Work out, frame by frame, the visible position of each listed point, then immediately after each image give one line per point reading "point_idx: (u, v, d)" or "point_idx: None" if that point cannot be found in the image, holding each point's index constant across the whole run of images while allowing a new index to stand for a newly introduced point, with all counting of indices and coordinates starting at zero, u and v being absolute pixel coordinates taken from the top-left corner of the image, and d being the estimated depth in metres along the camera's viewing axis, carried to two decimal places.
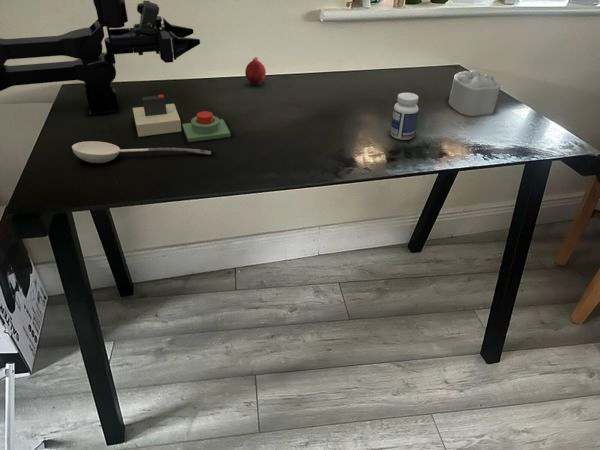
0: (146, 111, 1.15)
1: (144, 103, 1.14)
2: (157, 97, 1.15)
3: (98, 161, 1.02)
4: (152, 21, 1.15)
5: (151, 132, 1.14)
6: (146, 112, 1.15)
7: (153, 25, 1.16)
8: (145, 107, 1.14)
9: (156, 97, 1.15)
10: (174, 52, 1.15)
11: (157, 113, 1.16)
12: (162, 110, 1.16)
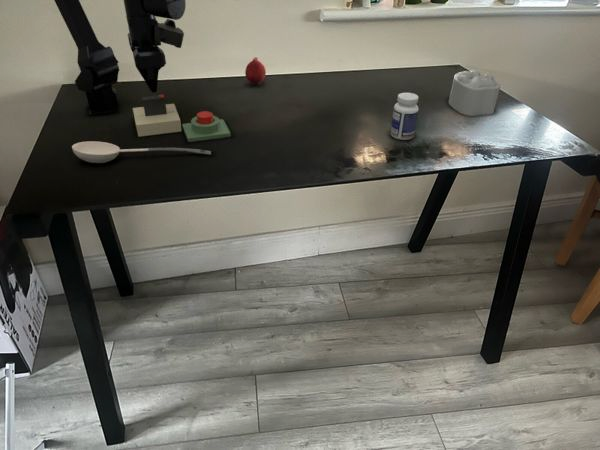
0: (146, 111, 1.15)
1: (144, 103, 1.14)
2: (157, 97, 1.15)
3: (98, 161, 1.02)
4: (167, 40, 1.06)
5: (151, 132, 1.14)
6: (146, 112, 1.15)
7: (163, 41, 1.06)
8: (145, 107, 1.14)
9: (156, 97, 1.15)
10: (145, 67, 1.03)
11: (157, 113, 1.16)
12: (162, 110, 1.16)
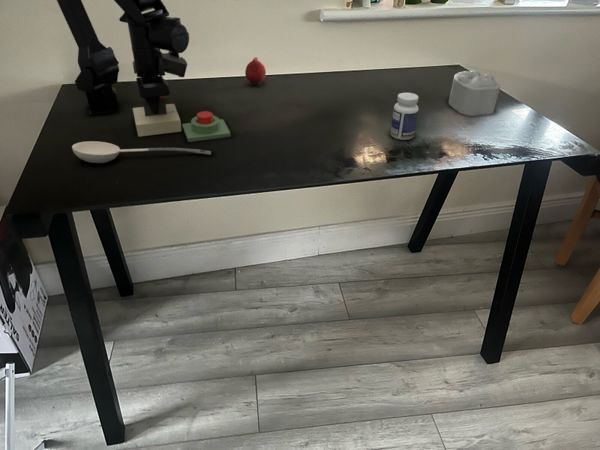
0: (146, 111, 1.15)
1: (144, 103, 1.14)
2: None
3: (98, 161, 1.02)
4: (171, 70, 1.10)
5: (151, 132, 1.14)
6: (146, 112, 1.15)
7: (167, 71, 1.10)
8: (145, 107, 1.14)
9: None
10: None
11: None
12: (162, 110, 1.16)
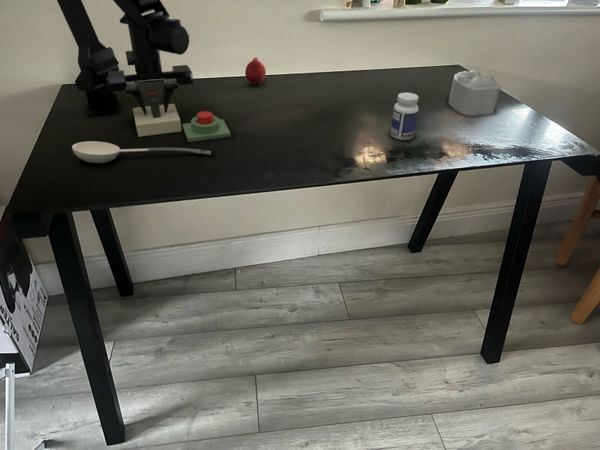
0: None
1: (158, 104, 1.14)
2: (153, 95, 1.15)
3: (98, 161, 1.02)
4: None
5: (151, 132, 1.14)
6: None
7: None
8: (159, 108, 1.14)
9: (153, 96, 1.15)
10: None
11: None
12: None
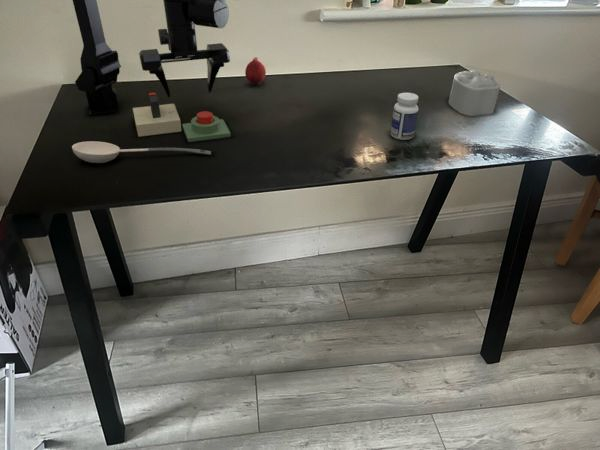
0: None
1: (158, 104, 1.14)
2: (153, 95, 1.15)
3: (98, 161, 1.02)
4: None
5: (151, 132, 1.14)
6: None
7: None
8: (159, 108, 1.14)
9: (153, 96, 1.15)
10: None
11: None
12: None
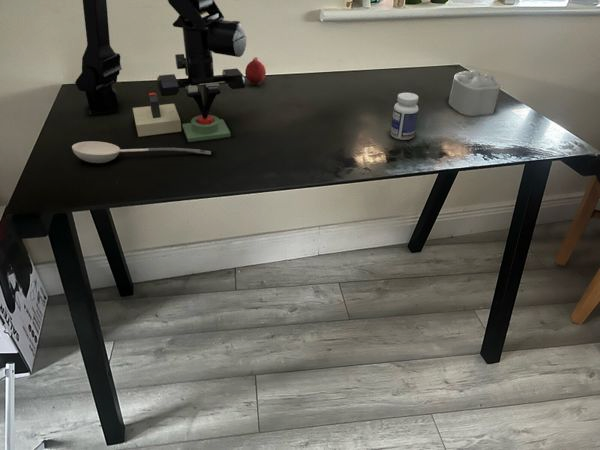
0: None
1: (158, 104, 1.14)
2: (153, 95, 1.15)
3: (98, 161, 1.02)
4: None
5: (151, 132, 1.14)
6: None
7: None
8: (159, 108, 1.14)
9: (153, 96, 1.15)
10: None
11: None
12: None
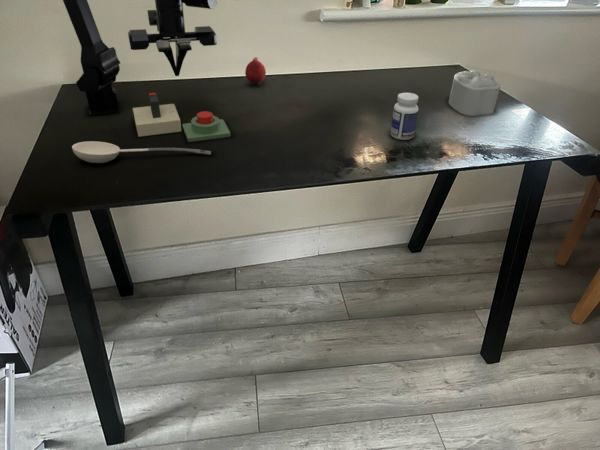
0: None
1: (158, 104, 1.14)
2: (153, 95, 1.15)
3: (98, 161, 1.02)
4: None
5: (151, 132, 1.14)
6: None
7: None
8: (159, 108, 1.14)
9: (153, 96, 1.15)
10: (190, 46, 1.11)
11: None
12: None
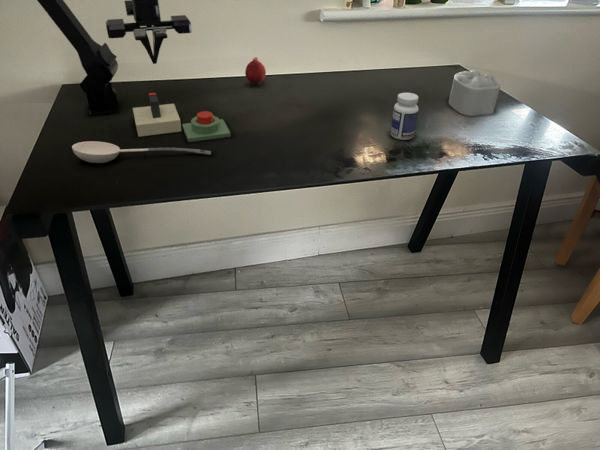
0: None
1: (158, 104, 1.14)
2: (153, 95, 1.15)
3: (98, 161, 1.02)
4: None
5: (151, 132, 1.14)
6: None
7: None
8: (159, 108, 1.14)
9: (153, 96, 1.15)
10: (166, 34, 1.15)
11: None
12: None
